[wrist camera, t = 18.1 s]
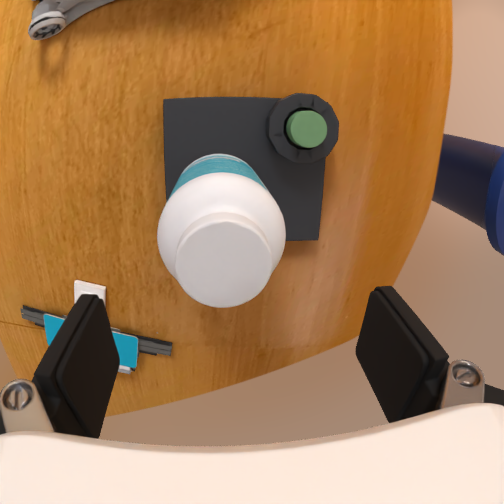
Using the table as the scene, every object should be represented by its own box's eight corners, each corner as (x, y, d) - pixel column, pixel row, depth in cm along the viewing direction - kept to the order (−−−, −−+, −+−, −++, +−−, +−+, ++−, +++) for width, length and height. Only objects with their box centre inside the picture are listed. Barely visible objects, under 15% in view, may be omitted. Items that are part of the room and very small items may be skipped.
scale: (327, 98, 25) (340, 97, 23) (318, 234, 31) (328, 246, 28) (165, 95, 24) (160, 92, 21) (171, 238, 29) (167, 251, 27)
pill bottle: (158, 194, 26) (113, 265, 14) (220, 134, 25) (225, 151, 12) (217, 250, 29) (222, 350, 17) (278, 196, 27) (329, 266, 15)
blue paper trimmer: (179, 301, 32) (178, 310, 31) (167, 375, 37) (166, 385, 35) (17, 263, 28) (11, 270, 27) (29, 340, 33) (24, 348, 31)
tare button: (322, 112, 23) (328, 112, 22) (320, 147, 25) (326, 149, 23) (286, 109, 23) (291, 109, 22) (285, 145, 24) (289, 147, 23)
